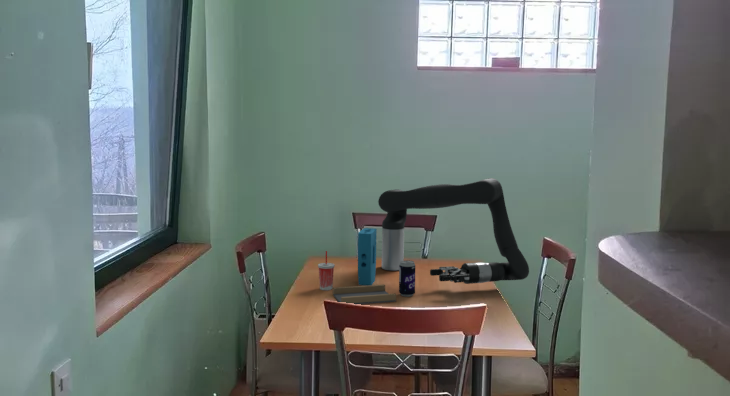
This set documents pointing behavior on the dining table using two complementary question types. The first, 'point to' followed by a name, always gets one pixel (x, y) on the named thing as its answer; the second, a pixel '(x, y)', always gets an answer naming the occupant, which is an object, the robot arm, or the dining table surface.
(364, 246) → the block
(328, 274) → the beverage cup
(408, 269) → the beverage can
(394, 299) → the brown open tray
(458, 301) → the dining table surface
